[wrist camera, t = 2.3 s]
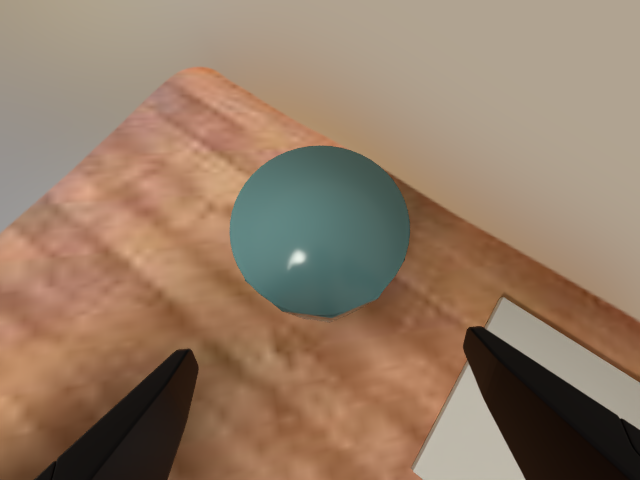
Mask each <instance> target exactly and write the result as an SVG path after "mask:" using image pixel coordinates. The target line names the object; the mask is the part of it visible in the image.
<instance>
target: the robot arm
mask: <svg viewBox="0 0 640 480" xmlns="http://www.w3.org/2000/svg"><path fill="white" fill-rule="evenodd" d="M463 349H464V353H465V355H466V358H467V360H468V363H469V365H470V367H471V370H472V372H473V375H474V377H475V380H476V382H477V385H478V387H479V390H480V392H481V394H482V397H483V399H484V401H485V403H486V405H487V407H488V409H489V411H490V413H491V415H492V417H493V419H494V421H495V422H496V424H497V426H498V428H499V430H500V432H501V434H502V436H503V438H504V440H505V442H506V443H507V445H508V447H509V449H510V451H511V453H512V455H513V457H514V459H515V461H516V463H517V465H518V466H519V468H520V470H521V472H522V474H523V476H524V478H525V480H640V429H638V428H636V427H635V426H633V425H632V424H630V423H629V422H627V421H626V420H624V419H622V418H619V416H618V415H616V414H615V413H613V412H612V411H610V410H609V409H607V408H606V407H604V406H603V405H601V404H600V403H598V402H597V401H595V400H594V399H592V398H591V397H589V396H587V395H586V394H584V393H583V392H581V391H580V390H578V389H577V388H575V387H574V386H572V385H571V384H569V383H568V382H566V381H565V380H563V379H562V378H560V377H558V376H557V375H555V374H554V373H552V372H551V371H549V370H548V369H546V368H545V367H543V366H542V365H540V364H539V363H537V362H536V361H534V360H533V359H531V358H530V357H528V356H526V355H525V354H523V353H522V352H520V351H519V350H517V349H516V348H514V347H513V346H511V345H510V344H508V343H507V342H505V341H504V340H502V339H501V338H499V337H497V336H496V335H494V334H493V333H491V332H490V331H488V330H487V329H485V328H484V327H481V326H476V327H469V328H468V329H467V331H466V335H465V340H464V344H463ZM197 375H198V364H197V361H196V359H195V356H194V354H193V352H192V350H191V349H178V350H176V351H175V352H174V353H173V354H172V355H170V356H169V357H168V358H167V359H166V360H165V361H164V362H163V363H162V364H161V365H159V366H158V367H157V368H156V369H155V370H154V371H153V372H152V373H151V374H150V375H148V376H147V377H146V378H145V379H144V380H143V381H142V382H141V383H140V384H139V385H138V386H136V387H135V388H134V389H133V390H132V391H131V392H130V393H129V394H128V395H127V396H125V397H124V398H123V399H122V400H121V401H120V402H119V403H118V404H117V405H116V406H114V407H113V408H112V409H111V410H110V411H109V412H108V413H107V414H106V415H105V416H103V417H102V418H101V419H100V420H99V421H98V422H97V423H96V424H95V425H94V426H92V427H91V428H90V429H89V430H88V431H87V432H86V433H85V434H84V435H83V436H81V437H80V438H79V439H78V440H77V441H76V442H75V443H74V444H73V445H72V446H70V447H69V448H68V449H67V450H66V451H65V452H64V453H63V454H62V455H61V456H59V457H58V459H57V461H54V462H53V463H52V464H51V465H49V466H48V467H47V468H46V469H45V470H44V471H43V472H42V473H41V474H40V475H38V476H37V477H36V478H35V479H34V480H167V479H168V476H169V473H170V470H171V467H172V464H173V461H174V458H175V455H176V452H177V449H178V446H179V443H180V440H181V437H182V434H183V431H184V428H185V425H186V422H187V418H188V414H189V410H190V405H191V401H192V397H193V392H194V388H195V384H196V379H197Z"/></svg>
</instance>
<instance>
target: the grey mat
mask: <svg viewBox="0 0 640 480" xmlns="http://www.w3.org/2000/svg"><path fill="white" fill-rule="evenodd" d="M485 329H487V330H488V331H490V332H491V333H493V334H494V335H496V336H497V337H499V338H501V339H502V340H504V341H505V342H507V343H508V344H510V345H511V346H513V347H514V348H516V349H517V350H519V351H520V352H522V353H523V354H525V355H526V356H528V357H530V358H531V359H533V360H534V361H536V362H537V363H539V364H540V365H542V366H543V367H545V368H546V369H548V370H549V371H551V372H552V373H554V374H555V375H557V376H558V377H560V378H562V379H563V380H565V381H566V382H568V383H569V384H571V385H572V386H574V387H575V388H577V389H578V390H580V391H581V392H583V393H584V394H586V395H587V396H589V397H591V398H592V399H594V400H595V401H597V402H598V403H600V404H601V405H603V406H604V407H606V408H607V409H609V410H610V411H612V412H613V413H615V414H616V415H618V416H619V418H622V419H624V420H626V421H627V422H629V423H630V424H632V425H633V426H635V427H636V428H638V429H640V382H638V381H636V380H635V379H633V378H632V377H630V376H628V375H627V374H625V373H624V372H622V371H620V370H619V369H617V368H616V367H614V366H612V365H611V364H609V363H608V362H606V361H604V360H603V359H601V358H600V357H598V356H597V355H595V354H593V353H592V352H590V351H589V350H587V349H585V348H584V347H582V346H581V345H579V344H577V343H576V342H574V341H573V340H571V339H569V338H568V337H566V336H565V335H563V334H561V333H560V332H558V331H557V330H555V329H553V328H552V327H550V326H549V325H547V324H545V323H544V322H542V321H541V320H539V319H538V318H536V317H534V316H533V315H531V314H530V313H528V312H526V311H525V310H523V309H522V308H520V307H518V306H517V305H515V304H514V303H512V302H510V301H509V300H507V299H506V298H504V297H501V298H500V299H499V301H498V303H497V305H496V307H495V308H494V310H493V312H492V314H491V316H490V318H489V320H488V322H487V324H486V326H485ZM411 469H412V470H413V472H415V473H416V474H417V475H418V476H419V477H421V478H422V479H423V480H525V478H524V476H523V474H522V472H521V470H520V468H519V466H518V465H517V463H516V461H515V459H514V457H513V455H512V453H511V451H510V449H509V447H508V445H507V443H506V442H505V440H504V438H503V436H502V434H501V432H500V430H499V428H498V426H497V424H496V422H495V421H494V419H493V417H492V415H491V413H490V411H489V409H488V407H487V405H486V403H485V401H484V399H483V397H482V394H481V392H480V390H479V387H478V385H477V382H476V380H475V377H474V375H473V372H472V370H471V367H470V365H469V363H468V360H467V362H466V364H465V366H464V368H463V370H462V372H461V374H460V375H459V377H458V379H457V381H456V383H455V385H454V387H453V389H452V391H451V393H450V395H449V396H448V398H447V400H446V402H445V404H444V406H443V408H442V410H441V412H440V414H439V416H438V418H437V419H436V421H435V423H434V425H433V427H432V429H431V431H430V433H429V435H428V437H427V439H426V440H425V442H424V444H423V446H422V448H421V450H420V452H419V454H418V456H417V458H416V460H415V462H414V463H413V465H412V467H411Z"/></svg>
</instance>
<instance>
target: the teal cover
mask: <svg viewBox="0 0 640 480" xmlns="http://www.w3.org/2000/svg"><path fill="white" fill-rule="evenodd" d="M409 237H410V221H409V215H408V210H407V207H406V203H405V200H404V198H403V196H402V194H401V192H400V190H399V188H398V187H397V185H396V184H395V182H394V181H393V180H392V178H391V177H390V176H389V175H388V174H387V173H386V172H385V171H384V170H383V169H382V168H381V167H380V166H379V165H377V164H376V163H374V162H373V161H372V160H370V159H368V158H366V157H365V156H363V155H361V154H358V153H356V152H353V151H351V150H347V149H344V148H339V147H333V146H308V147H303V148H298V149H294V150H291V151H288V152H285V153H283V154H281V155H278V156H277V157H275V158H273V159H271V160H270V161H268V162H267V163H265V164H264V165H263V166H261V167H260V168H259V169H258V170H257V171H256V172H255V173H254V174H253V175H252V176H251V177H250V178H249V179H248V181H247V182H246V183H245V185H244V186H243V188H242V189H241V191H240V193H239V195H238V197H237V199H236V201H235V204H234V207H233V210H232V215H231V220H230V242H231V247H232V252H233V256H234V258H235V261H236V263H237V266H238V267H239V269H240V271H241V273H242V274H243V276H244V278H245V281H246V282H247V283H249V284H250V285H251V286H252V287H253V288H254V289H255V290H256V291H257V292H258V293H259V294H261V295H262V296H263V297H265V298H266V299H268V300H269V301H270V302H272V303H273V304H274V305H275V306H276V307H278V308H279V309H280V310H281V311H283V312H286V313H289V314H292V315H295V316H298V317H300V318H303V319H310V320H317V321H324V322H332V321H334V320H336V319H339V318H341V317H343V316H346V315H348V314H350V313H353V312H355V311H357V310H358V309H360V308H362V307H364V306H365V305H367V304H369V303H371V302H373V301H374V300H376V299H378V297H379V296H380V294H381V293H382V292H383V290H384V289H385V287H386V286H387V285H388V284H389V283H390V282H391V281H392V279H393V278H394V277H395V275H396V274H397V272H398V270H399V269H400V267H401V265H402V263H403V262H404V260H405V256H406V252H407V248H408V245H409Z"/></svg>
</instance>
